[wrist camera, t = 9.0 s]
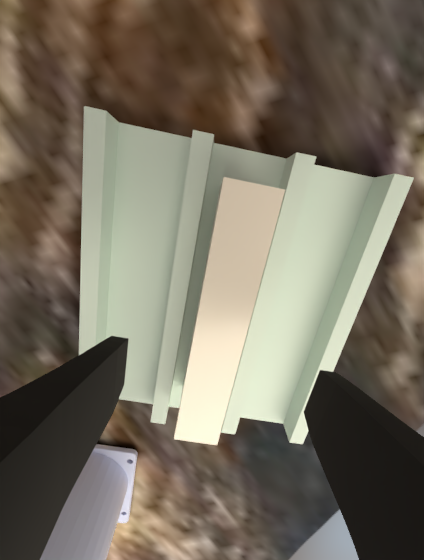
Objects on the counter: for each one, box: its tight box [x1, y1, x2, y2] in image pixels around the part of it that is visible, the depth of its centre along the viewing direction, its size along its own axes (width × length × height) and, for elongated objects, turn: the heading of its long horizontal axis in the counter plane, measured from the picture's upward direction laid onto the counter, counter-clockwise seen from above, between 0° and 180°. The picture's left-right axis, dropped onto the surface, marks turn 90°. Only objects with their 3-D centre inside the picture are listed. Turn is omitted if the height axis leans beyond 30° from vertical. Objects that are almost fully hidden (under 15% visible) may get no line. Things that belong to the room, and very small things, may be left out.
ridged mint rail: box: [79, 106, 414, 444], centre depth 15 cm, size 18×17×2 cm
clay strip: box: [174, 177, 285, 445], centre depth 13 cm, size 14×2×4 cm, turn 169°
